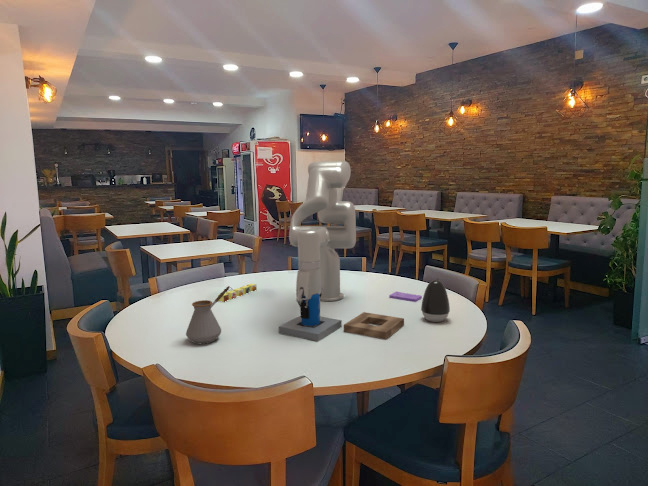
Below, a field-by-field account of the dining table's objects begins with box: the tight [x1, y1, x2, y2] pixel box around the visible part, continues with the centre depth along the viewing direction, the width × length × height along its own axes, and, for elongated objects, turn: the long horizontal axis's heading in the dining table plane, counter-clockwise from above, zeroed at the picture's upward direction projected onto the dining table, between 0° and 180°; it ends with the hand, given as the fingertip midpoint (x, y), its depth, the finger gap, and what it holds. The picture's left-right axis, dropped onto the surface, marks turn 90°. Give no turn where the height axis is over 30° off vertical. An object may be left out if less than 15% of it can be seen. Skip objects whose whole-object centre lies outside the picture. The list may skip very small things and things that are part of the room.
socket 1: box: [278, 314, 343, 342], centre depth 159 cm, size 16×16×2 cm
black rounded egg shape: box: [420, 278, 451, 323], centre depth 167 cm, size 10×10×15 cm
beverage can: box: [302, 292, 321, 328], centre depth 158 cm, size 6×6×12 cm
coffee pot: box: [185, 285, 233, 345], centre depth 155 cm, size 21×12×15 cm, turn 155°
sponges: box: [388, 291, 423, 303], centre depth 197 cm, size 7×13×2 cm, turn 55°
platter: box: [217, 283, 258, 303], centre depth 206 cm, size 32×32×3 cm
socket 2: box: [343, 311, 405, 340], centre depth 160 cm, size 16×16×2 cm
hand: (310, 314), depth 159 cm, fingers closed on beverage can, 6 cm apart
